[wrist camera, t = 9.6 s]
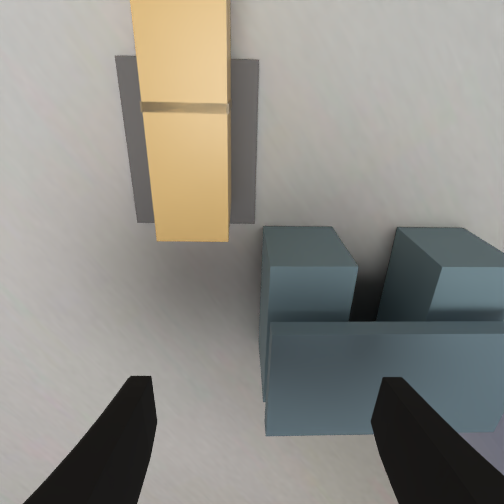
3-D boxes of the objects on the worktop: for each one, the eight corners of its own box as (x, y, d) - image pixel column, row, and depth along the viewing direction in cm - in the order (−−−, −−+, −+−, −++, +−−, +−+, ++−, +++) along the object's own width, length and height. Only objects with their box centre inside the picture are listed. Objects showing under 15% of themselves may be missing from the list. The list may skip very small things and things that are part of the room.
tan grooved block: (231, -26, 13) (227, -87, 8) (232, 200, 17) (229, 241, 12) (160, -29, 13) (117, -93, 8) (178, 200, 17) (155, 241, 12)
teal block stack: (463, 227, 18) (565, 291, 13) (426, 341, 22) (493, 432, 16) (263, 226, 18) (274, 291, 12) (258, 342, 21) (265, 436, 16)
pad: (258, 60, 14) (259, 59, 14) (254, 220, 18) (254, 223, 17) (118, 56, 14) (114, 55, 14) (139, 219, 17) (137, 222, 17)
